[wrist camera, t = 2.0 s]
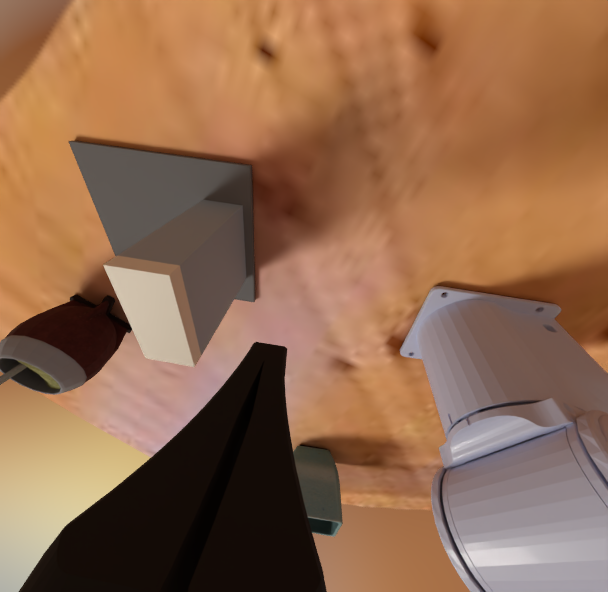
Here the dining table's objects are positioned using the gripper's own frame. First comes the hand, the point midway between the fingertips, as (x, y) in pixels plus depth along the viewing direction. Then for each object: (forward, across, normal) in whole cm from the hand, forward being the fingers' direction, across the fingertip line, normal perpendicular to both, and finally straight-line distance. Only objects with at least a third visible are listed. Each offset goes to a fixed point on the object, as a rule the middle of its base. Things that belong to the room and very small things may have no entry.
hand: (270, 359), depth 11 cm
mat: (+10, +10, 0) cm, 14 cm away
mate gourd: (+11, +21, +11) cm, 26 cm away
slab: (+10, +6, 0) cm, 12 cm away
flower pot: (+10, -5, +36) cm, 38 cm away
